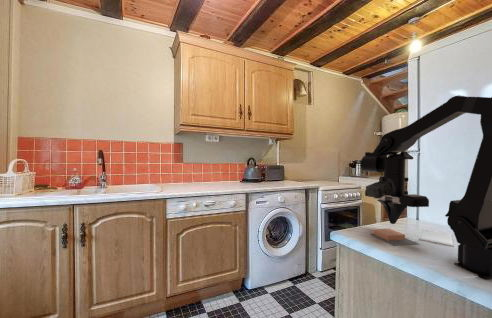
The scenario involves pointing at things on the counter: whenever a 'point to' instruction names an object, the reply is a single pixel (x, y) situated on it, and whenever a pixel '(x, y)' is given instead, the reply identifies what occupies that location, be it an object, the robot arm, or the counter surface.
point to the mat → (397, 241)
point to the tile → (389, 234)
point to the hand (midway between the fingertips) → (392, 223)
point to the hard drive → (436, 237)
